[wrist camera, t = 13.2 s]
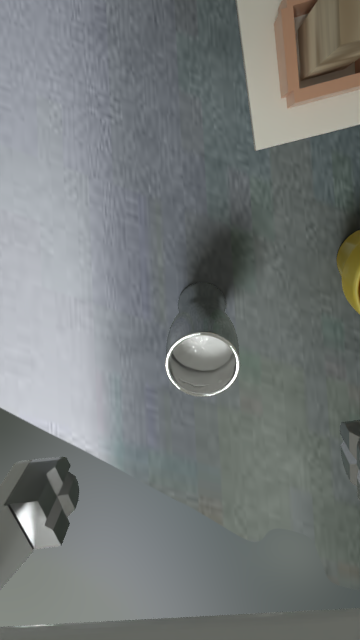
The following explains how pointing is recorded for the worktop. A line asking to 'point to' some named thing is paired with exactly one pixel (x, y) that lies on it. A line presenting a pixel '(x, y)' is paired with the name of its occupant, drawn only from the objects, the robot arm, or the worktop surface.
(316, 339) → the worktop surface
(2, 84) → the worktop surface
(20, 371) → the worktop surface
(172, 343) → the beer glass
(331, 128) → the framed base plate
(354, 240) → the plant pot
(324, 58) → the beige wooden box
